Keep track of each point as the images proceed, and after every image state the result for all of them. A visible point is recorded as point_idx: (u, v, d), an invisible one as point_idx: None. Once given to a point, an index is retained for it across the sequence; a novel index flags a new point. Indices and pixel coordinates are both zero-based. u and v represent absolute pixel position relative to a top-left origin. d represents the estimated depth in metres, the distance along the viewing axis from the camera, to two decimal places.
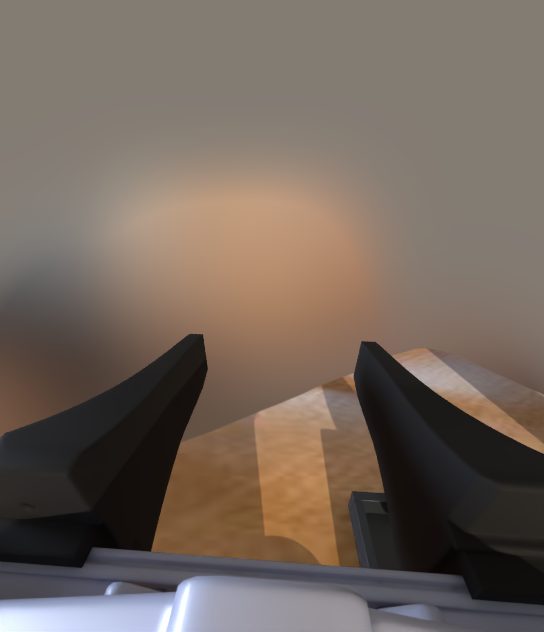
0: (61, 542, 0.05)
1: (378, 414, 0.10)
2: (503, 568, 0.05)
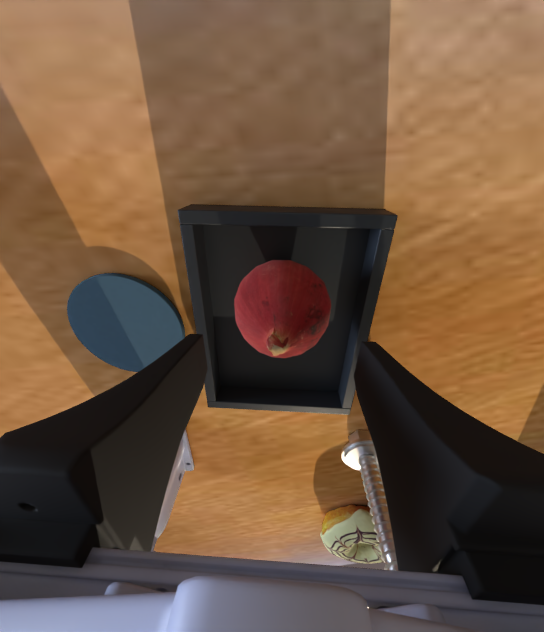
0: (61, 542, 0.05)
1: (378, 414, 0.10)
2: (503, 568, 0.05)
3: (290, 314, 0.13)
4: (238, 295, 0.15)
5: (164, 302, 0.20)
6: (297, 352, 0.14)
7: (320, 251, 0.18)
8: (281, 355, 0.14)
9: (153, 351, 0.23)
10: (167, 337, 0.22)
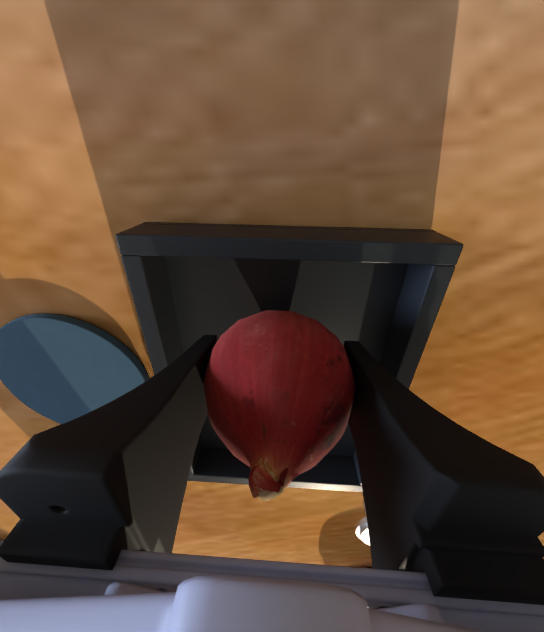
0: (92, 544, 0.05)
1: (358, 413, 0.10)
2: (464, 565, 0.05)
3: (292, 424, 0.07)
4: (208, 372, 0.09)
5: (119, 352, 0.15)
6: None
7: (335, 288, 0.12)
8: None
9: None
10: None
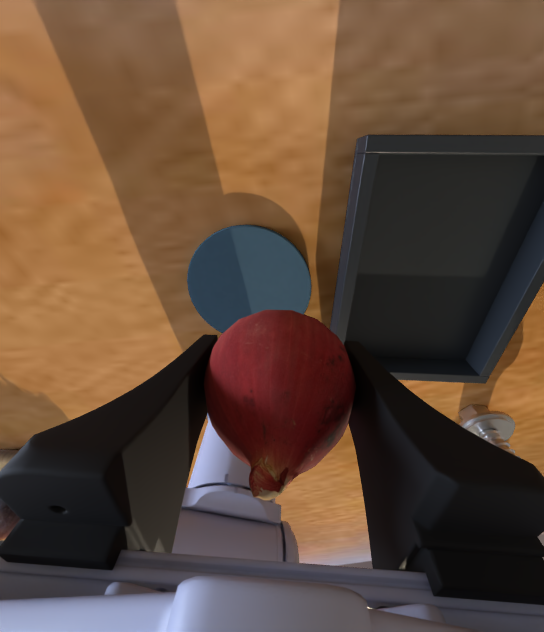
0: (92, 544, 0.05)
1: (358, 413, 0.10)
2: (464, 565, 0.05)
3: (292, 423, 0.07)
4: (208, 371, 0.09)
5: (300, 257, 0.19)
6: None
7: (494, 192, 0.16)
8: None
9: None
10: (291, 299, 0.20)
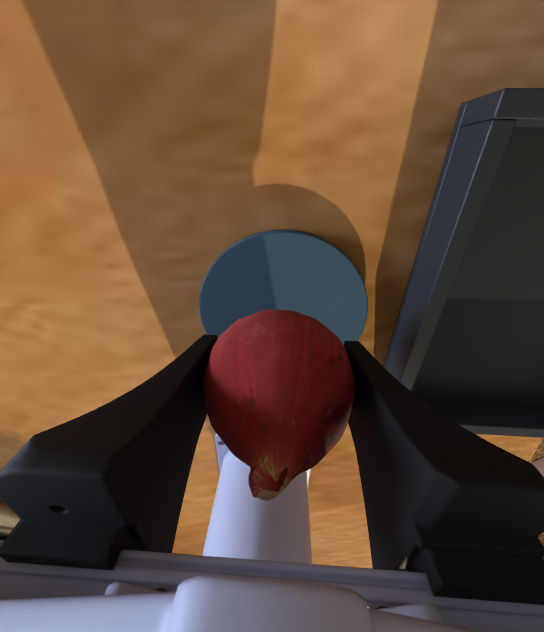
0: (92, 544, 0.05)
1: (358, 413, 0.10)
2: (464, 565, 0.05)
3: (292, 423, 0.07)
4: (208, 371, 0.09)
5: (356, 275, 0.14)
6: (302, 470, 0.09)
7: None
8: None
9: None
10: (339, 329, 0.15)
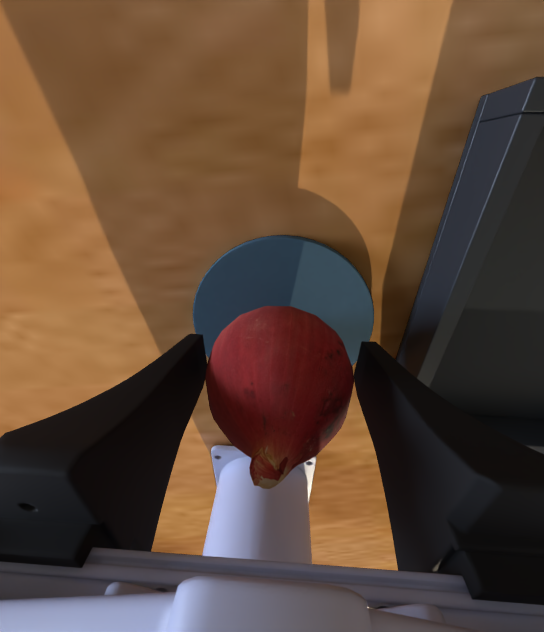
0: (61, 542, 0.05)
1: (378, 414, 0.10)
2: (503, 568, 0.05)
3: (291, 414, 0.08)
4: (210, 365, 0.09)
5: (362, 284, 0.12)
6: (302, 461, 0.09)
7: None
8: None
9: None
10: None
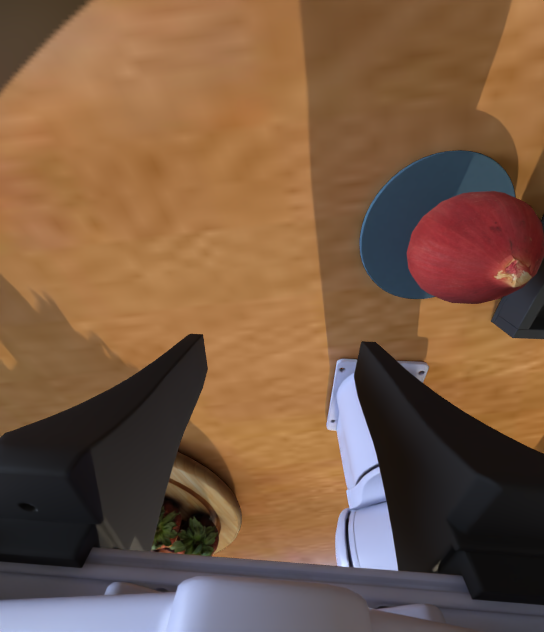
0: (61, 542, 0.05)
1: (378, 414, 0.10)
2: (503, 568, 0.05)
3: (530, 239, 0.11)
4: (435, 229, 0.13)
5: (512, 191, 0.16)
6: (513, 291, 0.12)
7: None
8: (494, 294, 0.12)
9: None
10: None
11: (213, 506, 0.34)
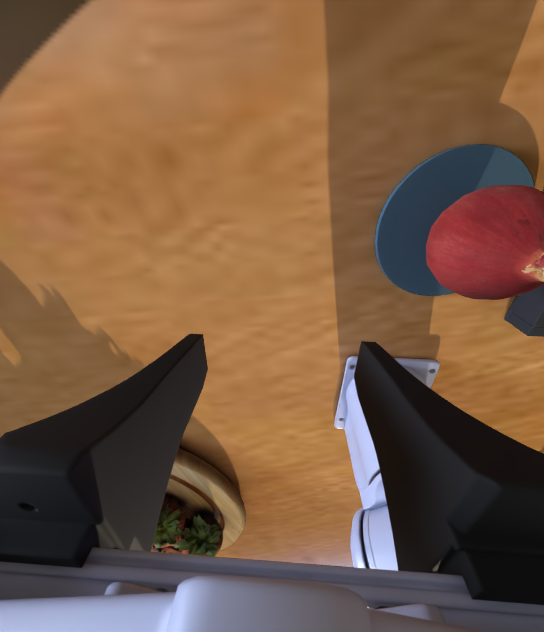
0: (61, 542, 0.05)
1: (378, 414, 0.10)
2: (503, 568, 0.05)
3: None
4: (459, 223, 0.13)
5: (531, 186, 0.16)
6: (539, 286, 0.12)
7: None
8: (519, 289, 0.12)
9: None
10: None
11: (218, 504, 0.34)
